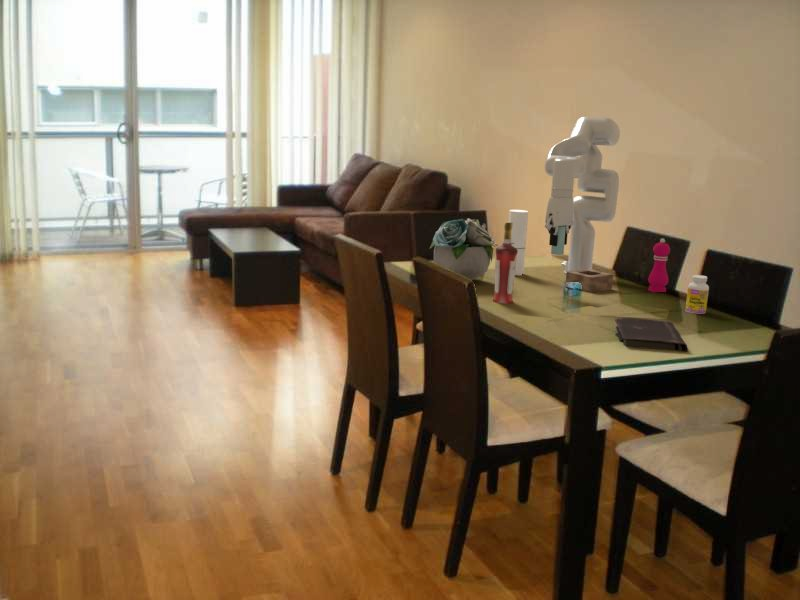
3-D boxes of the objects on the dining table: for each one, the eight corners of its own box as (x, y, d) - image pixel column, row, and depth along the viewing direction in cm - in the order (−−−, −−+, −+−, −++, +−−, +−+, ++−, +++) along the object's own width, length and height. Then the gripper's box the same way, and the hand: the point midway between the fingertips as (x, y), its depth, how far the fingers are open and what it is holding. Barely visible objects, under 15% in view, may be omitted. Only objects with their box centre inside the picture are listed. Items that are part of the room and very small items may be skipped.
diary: (672, 336, 278) (674, 320, 277) (686, 360, 254) (689, 342, 253) (610, 332, 280) (611, 316, 279) (618, 354, 256) (620, 337, 255)
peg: (548, 253, 327) (550, 225, 324) (556, 252, 329) (558, 224, 327) (557, 255, 323) (560, 227, 321) (566, 254, 326) (568, 226, 324)
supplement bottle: (684, 314, 305) (688, 277, 302) (685, 310, 311) (689, 273, 308) (705, 317, 303) (710, 279, 300) (706, 312, 309) (710, 275, 306)
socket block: (565, 287, 339) (566, 271, 338) (586, 284, 347) (587, 268, 345) (590, 293, 330) (592, 277, 329) (611, 290, 338) (613, 274, 336)
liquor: (493, 301, 312) (498, 220, 305) (514, 303, 310) (520, 221, 304) (490, 306, 305) (496, 223, 298) (512, 308, 303) (518, 224, 297)
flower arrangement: (501, 290, 329) (506, 223, 324) (434, 290, 325) (437, 222, 320) (484, 276, 353) (488, 213, 348) (421, 275, 349) (424, 212, 343)
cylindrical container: (510, 271, 365) (515, 209, 359) (526, 274, 361) (531, 211, 355) (501, 273, 359) (506, 210, 353) (517, 276, 355) (522, 212, 349)
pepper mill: (662, 294, 334) (668, 240, 329) (643, 291, 338) (649, 238, 334) (670, 291, 340) (676, 238, 335) (651, 288, 344) (657, 236, 339)
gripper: (569, 191, 329) (565, 241, 334) (537, 193, 319) (534, 245, 323) (585, 193, 324) (581, 244, 328) (554, 196, 313) (550, 248, 318)
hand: (557, 244), depth 326 cm, fingers closed on peg, 4 cm apart
